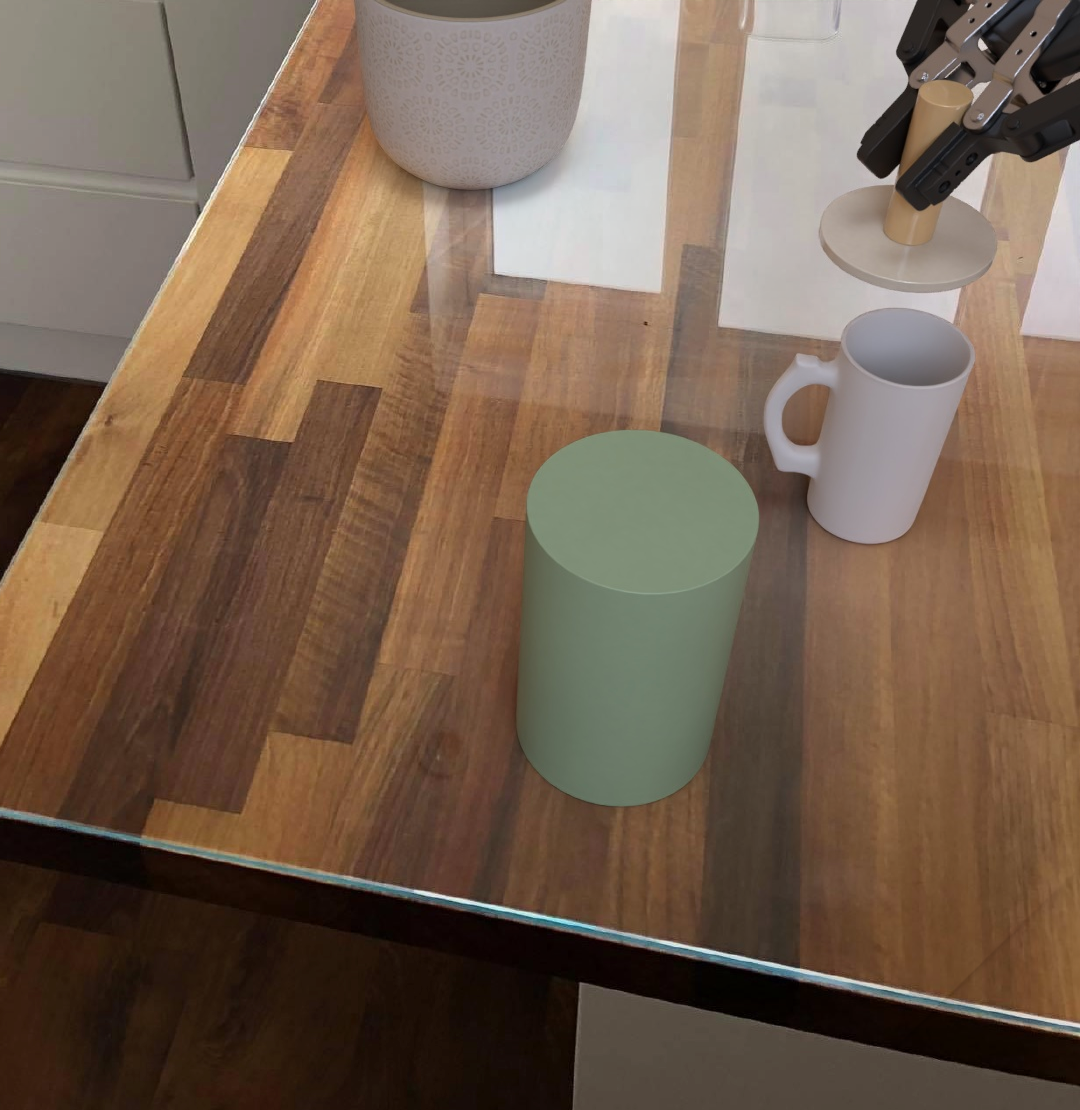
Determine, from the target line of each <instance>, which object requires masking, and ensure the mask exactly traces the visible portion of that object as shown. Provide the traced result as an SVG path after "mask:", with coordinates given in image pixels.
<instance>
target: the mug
mask: <svg viewBox="0 0 1080 1110" xmlns="http://www.w3.org/2000/svg"><path fill="white" fill-rule="evenodd" d="M975 362H976V351H975V347H974V345H973V343H972V341H971V340H970V339H969V337H968V336H967V335H966V333H965V332H964V331H962V330H961V329H960V328H959V327H958V326H957V325H955V324H953V322H951V321H948V320H947V319H945V318H943V317H941V316H939V315H936V314H933V313H930V312H927V311H924V310H919V309H914V308H906V307H884V308H878V309H873V310H869V311H866V312H863V313H861V314H860V315H858V316H856V317H854V318H852V319H851V320H850V321H849V322H848V323H847V324H846V325H845V327H844V329H843V331H842V333H841V336H840V346H839V349H838V353H837V354H836V356H835V357H834V358H833V359H832V360H828V361H827V360H826V361H825V360H821V359H820V358H819V357H818V356H817V355H815V354H805V353H800V352H798V353H796V354H795V356H794V357H793V360H792V362H791V364H790V365H789V366H788V367H787V368H786V369H785V371H783V373H782V374H781V375H780V377H779V378H778V379H777V381H776V382H775V383H774V385H773V386H772V387H771V389H770V391H769V393H768V395H767V397H766V398H765V403H764V405H763V406H764V407H763V412H762V423H763V431H764V434H765V438H766V441H767V443H768V447H769V449H770V453H771V456H772V459H773V463H774V465H775V467H776V469H777V470H778V471H780V472H784V473H799V474H803V475H806V476H808V477H809V478H810V480H809V485H808V490H807V494H806V503H807V507H808V510H809V513H810V514H811V516H812V518H813V519H814V520H815V522H817V524H818V525H819V526H820V527H821V528H823V529H824V530H825V531H827V532H828V533H830V534H831V535H834V536H835V537H838V538H840V539H843V540H846V541H849V542H853V543H857V544H864V545H865V544H866V545H875V544H876V545H877V544H884V543H887V542H888V543H889V542H892V541H894V540H896V539H898V538H900V537H902V536H904V535H905V534H906V533H907V532H908V531H910V530H911V528H912V526H913V524H914V522H915V521H916V518H917V516H918V513H919V510H920V508H921V506H922V503H923V501H924V499H925V495H926V493H927V492H928V491H927V490H928V488H929V485H930V483H931V479H932V477H933V474H934V472H935V468H936V466H937V463H938V461H939V459H940V458H939V457H940V455H941V453H942V450H943V447H944V445H945V442H946V439H947V437H948V434H949V431H950V429H951V427H952V424H953V421H954V418H955V415H956V413H957V410H958V407H959V405H960V402H961V399H962V397H963V394H964V391H965V389H966V386H967V383H968V380H969V376H970V373H971V371H972V369H973V367H974V364H975ZM811 385H821V386H825V387H827V388H829V389H830V390H829V395H828V398H827V403H826V408H825V413H824V417H823V421H822V426H821V430H820V434H819V437H818V440H817V441H816V443H814V444H810V445H801V444H800V445H799V444H795V443H794V442H792V441H791V440H790V439H789V438H788V437H787V435H786V433H785V432H784V429H783V428H784V427H783V412H784V410H785V406H786V404H787V402H788V401H789V400H790V398H791V397H792V396H793V395H794V394H795V393H797V391H799V390H801V389H802V388H804V387H807V386H811Z"/></svg>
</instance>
